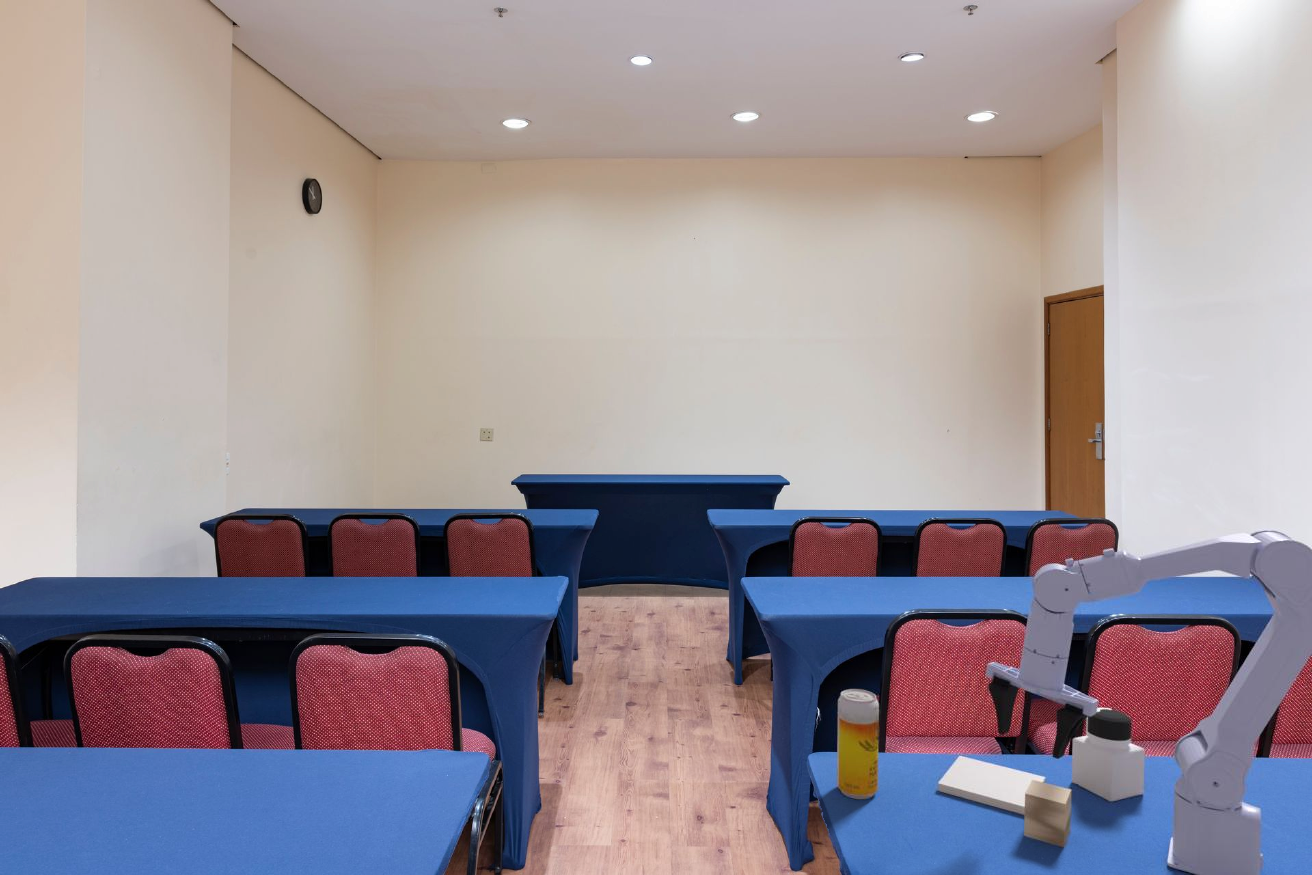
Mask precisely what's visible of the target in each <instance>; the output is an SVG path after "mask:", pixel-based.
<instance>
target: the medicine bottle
mask: <svg viewBox="0 0 1312 875" xmlns="http://www.w3.org/2000/svg"><path fill="white" fill-rule="evenodd" d="M1085 731H1086V732H1085V733H1086V735H1084V736H1083V735H1082V736H1078V737H1077V736H1076V737H1073V738H1072V755H1071V756H1072V758H1071V782H1072V783H1073V784H1076V785H1077V784H1078V786H1079V787H1081V788H1082V789H1085V790H1086V791H1089V792H1091V793H1092V794H1095V795H1097V796H1098V797H1101V798H1103V799H1105V800H1106V801H1108V802H1116V801H1120V800H1123V799H1124V800H1125V799H1128V798H1132V797H1136V796H1140V795H1143V794H1144V793H1145V791H1144V790H1145V789H1144V788H1145V785H1144V784H1145V757H1146V755H1145V753H1146V751H1145V749H1144V748H1143V747H1141V746H1139V745H1137V744H1133V743H1132V719H1131V718H1130V716H1129V715H1128V714H1126V713H1124V712H1122V711H1120V710H1117V709H1113V708H1110V707H1108V708H1107V707H1097V712H1096V714H1095V715H1093V716H1091V717H1090V716H1088V717H1087V718H1086V729H1085Z"/></svg>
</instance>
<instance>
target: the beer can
mask: <svg viewBox="0 0 1312 875" xmlns="http://www.w3.org/2000/svg"><path fill="white" fill-rule="evenodd" d="M879 708H880V703H879V701H878V699H877V695H876V694H875V693H873V692H871V691H869V690H865V689H861V688H860V689H859V688H849V689H845V690H843V691H841V692H840V695H839V697H838V699H837V742H836V743H837V744H836V745H837V746H836V747H837V750H836V751H837V752H836V753H837V754H836V759H837V760H836V761H837V762H836V765H837V767H836V770H837V771H836V786H837V787H838V789H839V790H840V792H841V793H842V795H844V796H846V797H848V798H852V799H856V800H867V799H870V798H872V797H873V796H874V795H875V793H876V792H878V788H879V732H880V731H879V729H880V728H879V727H880V726H879V725H880V724H879V723H880V718H879V717H880V715H879V714H880V709H879Z"/></svg>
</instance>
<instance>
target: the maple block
mask: <svg viewBox="0 0 1312 875" xmlns="http://www.w3.org/2000/svg"><path fill="white" fill-rule="evenodd" d="M1071 817H1072V789H1071V788H1066V787H1062V786H1058V785H1054V784H1050V783H1046V782H1045V783H1043V782H1039V781H1035V780H1032V781H1031V783H1030V785H1029V787H1028V789H1027V791H1026V793H1025V815H1024V824H1023V825H1024V826H1023V827H1024V828H1023V829H1024V830H1023V836H1024V837H1027V838H1029V839H1034V840H1037V841H1042V842H1044V843H1047V844H1051V845H1054V846H1059V847H1062V848H1065V846H1066V845H1067V841H1068V839H1069V837H1070V834H1071V827H1072V826H1071V824H1072V823H1071V822H1072V821H1071V820H1072V818H1071Z"/></svg>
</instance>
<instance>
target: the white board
mask: <svg viewBox="0 0 1312 875" xmlns="http://www.w3.org/2000/svg"><path fill="white" fill-rule="evenodd" d="M1032 780H1035V781H1039V782H1043V783H1046V777H1045V776H1043V775H1037V774H1034V773H1030V772H1027V771H1023V770H1020V769H1019V770H1018V769H1015V768H1011V767H1006V766H1002V765H1000V764H999V765H997V764H995V763H990V762H986V761H983V760H978V759H975V758H970V757H966V756H964V755H963V756H961V755H959V756H958V757H957V758H956V760H955V761H954V762H953V763H952V764H951V765H950V767H949V768H948V770H947V771H946V773H944V775H943V776H942V778H941V779H940V780H939V781H938V782H937V791H938V792H940V793H941V792H942V793H945V794H947V795H948V794H949V795H952V796H956V797H959V798H962V799H965V800H970V801H973V802H977V803H981V804H984V805H989V806H991V807H995V808H998V809H1002V810H1005V811H1008V812H1014V813H1016V814H1020V815H1023V816H1025V793H1026V791H1027V789H1028V787H1029V785H1030V783H1031V781H1032Z"/></svg>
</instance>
